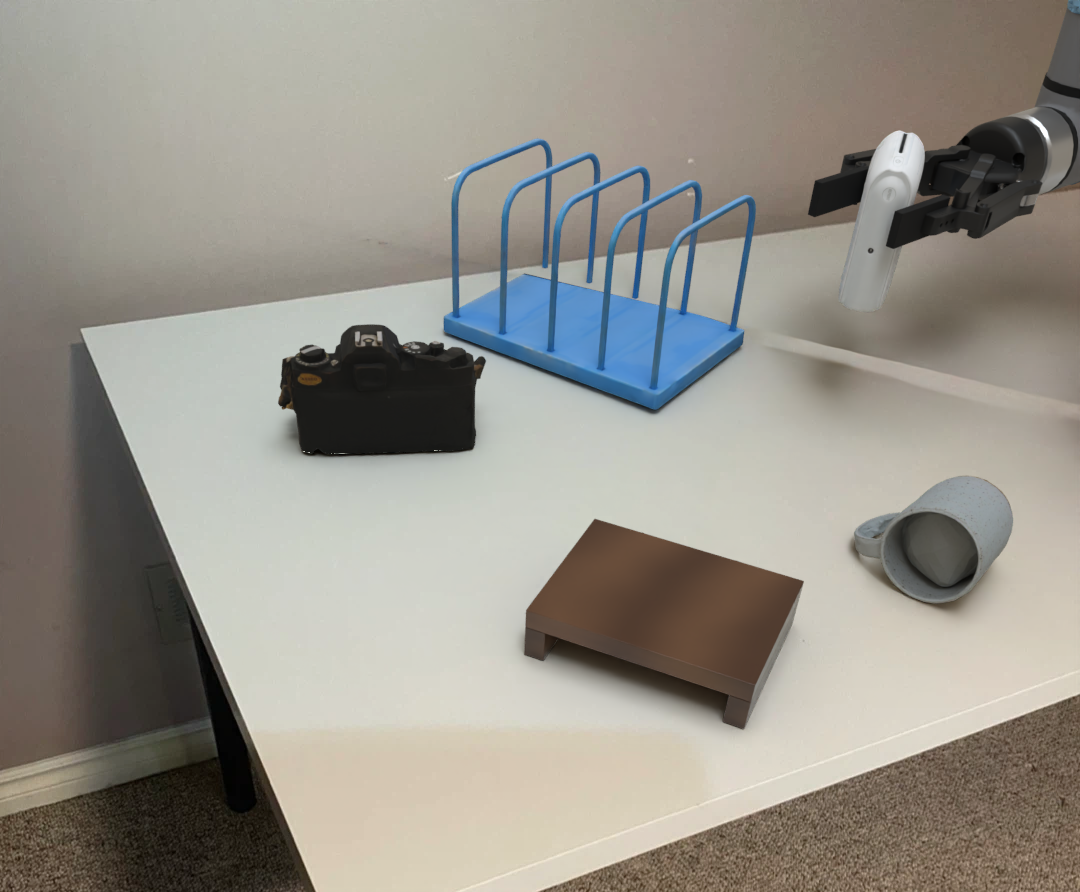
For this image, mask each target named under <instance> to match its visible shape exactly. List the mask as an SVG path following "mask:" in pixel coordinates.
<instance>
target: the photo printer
mask: <svg viewBox="0 0 1080 892" xmlns="http://www.w3.org/2000/svg"><path fill="white" fill-rule="evenodd" d="M875 149H876V151H875V153H874V155H873V157H872V160H871V163H870V166H869V170H868V173H867V177H866V182H865V184H864V190H863V194H862V198H861V202H860V203H859V206H858V210H857V211H858V212H857V215H856V220H855V223H854V226H853V227H854V228H853V231H852V236H851V239H850V243H849V246H848V251H847V255H846V259H845V263H844V267H843V271H842V273H841V277H840V284H839V288H838V303H840V304H842V306H843V307H844V308H846V309H848V310H850V311H854V312H860V313H873V312H874V311H878V310H880V309H881V308H882V307H883V305H884V303H885V301H886V298H887V296H888V293H889V290H890V287H891V284H892V281H893V278H894V275H895V272H896V268H897V265H898V263H899V259H900V255H901V251H902V249H903V246H900V247H898V248H895V249H892V248H889V247H887V246H886V243H887V239H888V235H889V231H890V228H891V224H892V220H893V216H894V212H895V211H897V210H900V209H903V208H905V207H908V206H911V205H914V204H915V200H916V198H917V194H918V193H917V191H918V187H919V183H920V180H921V176H922V172H923V167H924V160H925V151H926V150H925V147H924V144H923V141H922V140H921V138H920V137H919V136H918V135H917V134H916V133H914V132H905V131H903V130H900V129H899V130H896V131H893V132H891V133H890V134H888V135H887V136H885V137H884V138H883V139H882V141H881V142H880V143H879V144H878V146H877V147H876V148H875Z"/></svg>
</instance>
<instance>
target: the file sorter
mask: <svg viewBox="0 0 1080 892" xmlns="http://www.w3.org/2000/svg"><path fill="white" fill-rule="evenodd" d="M538 146H541V147H542V148H543V150H544V153H545V162H546V163H545V169H543V170H540V171H538V172H537V173H534V174H532V175H530V176H528V177H525V178H523V179H520V180H519V181H518V182H516V183H515V184H514V185H513V186H512V187H511V188H510V190H509V192H508V194H507V196H506V198H505V200H504V204H503V207H502V212H501V223H500V224H501V225H500V261H499V262H500V266H499V267H500V268H499V269H500V271H499V273H500V274H499V275H500V276H499V286H497V287H496V288H494V289H492V290H490V291H489V292H486V293H484V294H483V295H480V296H479V297H476V298H475V299H473V300H470V302H467V303H466V304H464V305H462V306H460V252H459V250H460V249H459V246H460V244H459V243H460V242H459V240H460V238H459V237H460V235H459V205H460V204H459V202H460V194H461V190H462V187H463V185H464V183H465V181H466V180H467V178H468V177H469V176H470V175H472V174H473V173H474V172H477V171H480V170H482V169H485V168H487V167H489V166H491V165H493V164H496V163H498V162H500V161H503V160H505V159H508V158H510V157H512V156H515V155H518V154H520V153H522V152H525V151H527V150H530V149H533V148H535V147H538ZM586 160H590V161H591V163H592V166H593V185H592V186H589V187H588V188H586V189H584V190H583V189H582V190H581V191H580V192H577V193H575V194H573V195H572V196H570V197H569V198H567V200H566V201H565V202H564V203H563V204H562V206H561V208H560V210H559V211H558V214H557V216H556V219H555V223H554V227H553V234H552V249H551V270H550V279H549V278H546V277H541V276H538V275H534V274H528V273H522V274H521V275H519V276H517V277H515V278H513V279H511V280H509V281H508V262H509V261H508V259H509V257H508V255H509V254H508V253H509V251H508V250H509V247H508V246H509V244H508V243H509V222H510V221H509V220H510V213H511V208H512V205H513V203H514V200H515V198H516V197H517V195H519V193H520V192H521V191H522V190H523V189H525V188H528V187H529V186H531V185H533V184H535V183H538V182H540V181H542V180H544V179H545V193H544V215H543V217H544V219H543V241H542V262H541V263H542V265H541V268H542V269H548V267H549V255H550V254H549V253H550V233H551V211H552V210H551V209H552V207H551V206H552V190H553V189H552V185H553V175H555V174H557V173H559V172H561V171H564V170H566V169H568V168H570V167H572V166H575V165H577V164H580V163H582V162H584V161H586ZM639 173H640V174H641V177H642V182H643V189H642V199H641V204H640V205H638V206H637V207H635V208H633V209H631V210H629V211H628V212H626V213H625V214H623V215H622V216H621V218H620V219H619V220H618V221H617V223H616V225H615V226H614V228H613V231H612V233H611V235H610V239H609V242H608V245H607V253H606V261H605V262H606V263H605V274H604V283H603V284H604V285H603V291H600V290H596V289H592V288H588V287H583V286H580V285H575V284H572V283H571V284H570V283H566V282H562V281H559V265H560V264H559V263H560V250H561V237H562V228H563V224H564V221H565V218H566V216H567V214H568V213H569V212H570V209H571V208H572V207H573V206H574V205H576V204H577V203H580V201H583V200H585V199H588V198H590V197H591V196H592V199H591V200H592V201H591V211H590V212H591V214H590V228H589V241H588V243H589V244H588V246H589V247H588V255H587V269H586V281H585V282H586V283H587V284H592V283H593V277H594V265H595V253H596V240H597V228H598V215H599V200H600V199H599V198H600V192H601V191H603V190H605V189H607V188H609V187H612V186H614V185H615V184H618V183H619V182H622V181H624V180H626V179H628V178H630V177H633V176H634V175H636V174H639ZM689 189H693V191H694V208H693V218H692V223H691V224H689V225H688V226H687V227H685V228H684V229H682V230H681V231H679V233H678V234H677V235H676V236H675V238H674V240H673V241H672V243H671V245H670V247H669V249H668V252H667V254H666V258H665V262H664V266H663V267H664V268H663V272H662V273H663V275H662V279H661V280H662V281H661V287H660V288H661V289H660V297H659V304H655V303H651V302H647V301H644V300H643V301H642V300H639V299H638V298H639V294H640V285H641V277H642V270H643V269H642V268H643V259H644V252H645V251H644V250H645V242H646V233H647V225H648V224H647V223H648V215H649V210H651V209H653V208H655V207H657V206H659V205H661V204H662V203H664V202H665V201H668V200H670V199H671V198H673V197H675V196H677V195H679V194H681V193H683V192H685V191H687V190H689ZM650 194H651V177H650V173H649V170H648V169H647V168H646V167H645V166H643V165H635V166H632V167H630V168H628V169H625V170H622V171H621V172H619V173H617V174H615V175H613V176H610V177H608V178H606V179H603V180H602V181H601V164H600V160H599V158H598V156H597V155H596V154H595V153H593V152H591V151H585V152H581V153H580V154H577V155H575V156H572V157H570V158H568V159H566V160H563V161H561V162H558V163H556V164H554V165H553V153H552V148H551V145H550V144H549V142H547V140H545V139H544V138H543V139H542V138H539V137H537V138H534V139H533V138H532V139H531V140H528V141H526V142H523V143H521V144H518V145H516V146H513V147H510V148H508V149H505V150H502V151H500V152H498V153H495V154H493V155H490V156H488V157H486V158H483V159H481V160H479V161H476V162H474V163H471V164H470V165H468V166H466V167H464V168H463V169H462V171H461V172H460V173H459V175H458V177H457V178H456V180H455V183H454V186H453V189H452V194H451V202H450V204H451V205H450V206H451V209H450V210H451V290H452V293H451V295H452V296H451V298H452V300H451V301H452V311H451V312H449V313H446V314H445V315H443V332H444V333H446V334H449V335H451V336H454V337H456V338H460V339H462V340H465V341H468V342H471V343H473V344H476V345H479V346H482V347H484V348H487V349H488V350H489V349H490V350H492V351H495V352H497V353H500V354H502V355H506V356H509V357H511V358H514V359H516V360H519V361H522V362H524V363H527V364H530V365H533V366H535V367H539V368H541V369H543V370H547V371H549V372H552V373H554V374H556V375H560V376H563V377H565V378H568V379H571V380H573V381H576V382H578V383H581V384H584V385H586V386H589V387H592V388H594V389H598V390H600V391H603V392H605V393H607V394H608V393H609V394H611V395H614V396H616V397H620V398H622V399H625V400H628V401H630V402H632V403H635V404H638V405H641V406H644V407H646V408H648V409H651V410H659V409H660V408H662V407H663V406H664V405H665V404H666V403H668V402H669V401H670V400H672V399H673V398H674V397H676V396H677V395H678V394H680V393H681V392H682V391H683V390H684V389H686V388H687V387H689V386H690V385H692V384H693V383H694V382H695V381H696V380H698V379H699V378H700V377H702V376H704V375H705V374H706V373H707V372H708V371H710V370H711V369H712V368H713V367H714V366H716V365H717V364H719V363H720V362H721V361H723V360H724V359H725V358H727V357H728V356H730V355H731V354H732V353H734V352H735V351H736V350H737V349H739V348H740V347H741V346H743V345H744V338H745V329H743V328H741V327H737V326H738V321H739V316H740V311H741V310H740V309H741V305H742V304H741V303H742V300H743V299H742V298H743V293H744V287H745V282H746V275H747V272H748V271H747V270H748V265H749V259H750V253H751V246H752V241H753V235H754V229H755V224H756V223H755V222H756V213H757V208H756V207H757V205H756V201H755V199H754V197H753V196H751V195H748V194H744V195H741V196H739V197H737V198H736V199H733V200H732V201H730V202H728V203H726V204H724V205H723V206H721V207H719V208H718V209H715V210H714V211H711V212H710V213H709V214H707V215H705V216H704V217H702V218H701V213H702V205H703V204H702V203H703V192H702V187H701V184H700V183H699V182H698V181H697V180H693V179H688V180H686V181H684V182H682V183H680V184H678V185H676V186H674V187H672V188H670V189H668V190H667V191H664V192H663V193H660V194H659V195H656V196H655V197H653V198H651V199H650ZM744 204H747V206H748V217H747V223H746V224H747V226H746V230H745V231H746V232H745V238H744V242H743V248H742V249H743V250H742V255H741V261H740V268H739V272H738V278H737V282H736V283H737V284H736V290H735V295H734V300H733V301H734V302H733V307H732V313H731V319H730V324H729V323H725V322H722V321H720V320H716V319H714V318H710V317H708V316H704V315H701V314H697V313H694V312H690V311H688V304H689V297H690V290H691V283H692V277H693V269H694V262H695V254H696V248H697V240H698V234H699V230H700V229H702V228H704V227H705V226H707V225H709V224H710V223H712V222H713V221H715V220H717V219H719V218H721V217H722V216H724V215H725V214H728V213H730V212H731V211H733V210H734V209H737V208H738V207H740V206H742V205H744ZM638 216H640V221H639V222H640V223H639V230H638V236H637V237H638V239H637V251H636V258H635V259H636V261H635V268H634V269H635V271H634V279H633V287H632V296H631V298H630V297H626V296H623V295H622V296H621V295H617V294H613V293H612V282H613V281H612V279H613V270H614V261H615V253H616V247H617V244H618V243H617V242H618V239H619V237H620V235H621V232H622V230H623V229H624V227H625V226H626V225H627V223H629V222H630V221H632V220H633V219H635V218H636V217H638ZM689 236H690V237H689ZM687 237H689V244H688V251H687V252H688V253H687V259H686V267H685V274H684V281H683V288H682V296H681V305H680V309H677V308H673V307H669V306H667V305H668V296H669V289H670V280H671V274H672V269H673V264H674V260H675V257H676V254H677V252H678V250H679V247H680V246H681V244H682V243H683V242H684V241H685V239H687Z"/></svg>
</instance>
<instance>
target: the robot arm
mask: <svg viewBox="0 0 1080 892" xmlns="http://www.w3.org/2000/svg"><path fill="white" fill-rule="evenodd" d="M1066 5H1067V7H1066V10H1065V14H1064V17H1063V19H1062V23H1061V26H1060V30H1059V33H1058V36H1057V39H1056V43H1055V46H1054V50H1053V53H1052V56H1051V60H1050V62H1049V66H1048V69H1047V72H1045V74H1044V77H1043V81H1042V83H1041V86H1040V89H1039V92H1038V95H1037V98H1036V101H1035V104H1034V106H1033V107H1032V108H1029V109H1026V110H1022V111H1019V112H1015V113H1012V114H1008V115H1006V116H1003V117H1000V118H996V119H992V120H989V121H987V122H982V123H980V124H978V125H976V126H974V127H973V128H971V129H970V130H969V131H968V132H967V133H965V135H964V136H963V137H962V138H960V140H959V141H958V142H957V143H956V144H955V145H951V146H949V147H947V148H939V149H932V150H931V149H930V150H924V151H925V160H924V167H923V172H922V176H921V180H920V183H919V187H918V191H917V194H918V195H920V196H921V197H930V196H931V197H932V196H935V197H932V198H928V199H926V200H922V201H920V202H918V203H914V205H911V206H908V207H905V208H903V209H900V210H897V211H895V212H894V216H893V220H892V224H891V228H890V231H889V235H888V239H887V243H886V246H887V247H889V248H892V249H895V248H898V247H900V246H902V247H903V246H906V245H908V244H911V243H914V242H917V241H920V240H921V239H924V238H927V237H931V236H937V235H940V234H943V233H946V232H947V233H948V234H949V233H950V234H957V233H959V232H960V231H961V230H966V231H967V233H966V236H967V237H969V238H971V239H972V240H973V239H975V240H976V239H982V238H983V237H985V236H987V235H988V234H991V232H993V231H995V230H997V229H998V228H1000V227H1001V226H1003V225H1005V224H1007V223H1008V222H1010V221H1012V220H1013V219H1015V218H1017V217H1022V216H1026V215H1031V214H1033V212H1034V209H1035V206H1036V203H1037V200H1038V198H1039V196H1041V195H1044V194H1048V193H1050V192H1054V191H1056V190H1060V189H1061V188H1065V187H1067V186H1073V185H1076V184H1078V183H1080V0H1067V4H1066ZM876 149H877V148H873V149H867V150H862V151H857V152H852V153H848V154H844V155H843V159H842V163H841V167H840V171H839V172H838V173H835V174H832V175H828V176H825V177H822V178H818V179H815V180H814V182H813V187H812V188H813V189H812V192H811V197H810V202H809V206H808V211H807V215H808V216H810V217H813V218H817V217H820V216H823V215H826V214H829V213H832V212H835V211H838V210H842V209H844V208H846V207H850V206H858V204H860V202H861V198H862V194H863V190H864V184H865V182H866V177H867V173H868V170H869V166H870V163H871V160H872V157H873V155H874V153H875V151H876ZM952 197H953V198H952ZM951 198H952V201H951ZM950 201H951V204H950Z"/></svg>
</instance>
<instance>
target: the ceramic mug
mask: <svg viewBox="0 0 1080 892" xmlns="http://www.w3.org/2000/svg"><path fill="white" fill-rule="evenodd" d="M1013 526H1014V516H1013V510H1012V507H1011V504H1010V501H1009V500H1008V497H1007V496H1006V495H1005V494H1004V492H1003V491H1002V490H1001V489H1000V488H999V487H998V486H996V485H995V484H994V483H992V482H990V481H988V480H986V479H984V478H981V477H979V476H974V475H957V476H953V477H949V478H946V479H944V480H942V481H939V482H937V483H936V484H934V485H933V486H931V487H930V488H929V489H927V490H926V491H925V492H923V494H921V495H920V496H919V497H918V498H917V499H916V500H914V501H913V502H912V503H911V504H909V505H907V507H905V508H904V509H903V510H902V511H899V512H891V513H886V514H882V515H878V516H874V517H872V518H870V519H868V520H866V521H865V522H862V523H861V524H859V525H858V526H857V527H855V529H854V532H853V538H854V547H855V550H856V551H857V553H858V554H859V555H861V556H863V557H865V558H871V559H878V560H880V562H881V565H882V568H883V571H884V572H885V574H886V576H887V577H888V579H889V580H890V581H891V582H892V584H893V585H894V586H895V587H896V588H897V589H899V590H900V591H901V592H902V593H904V594H905V595H906V596H908V597H910V598H913V599H915V600H917V601H920V602H923V603H927V604H946V603H949V602H953V601H957V600H958V599H960V598H962V597H964V596H966V595H967V594H968V593H970V592H971V590H972V589H973V588H974V587H975V586H976V585H977V584H978V583H979V581H980V580H981V579H982V577H983V576H984V575H985V574H986V572H987V571H988V570H989V569H990V568H991V566H992V565H993V563H994V562H995V561H996V560H997V559H998V557H999V556H1000V555H1001V553H1002V552H1003V551H1004V549H1005V548H1006V547H1007V546H1008V545H1007V544H1008V542H1009V540H1010V537H1011V535H1012V533H1013ZM879 535H882V536H881V537H880V538H874V537H877V536H879Z"/></svg>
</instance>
